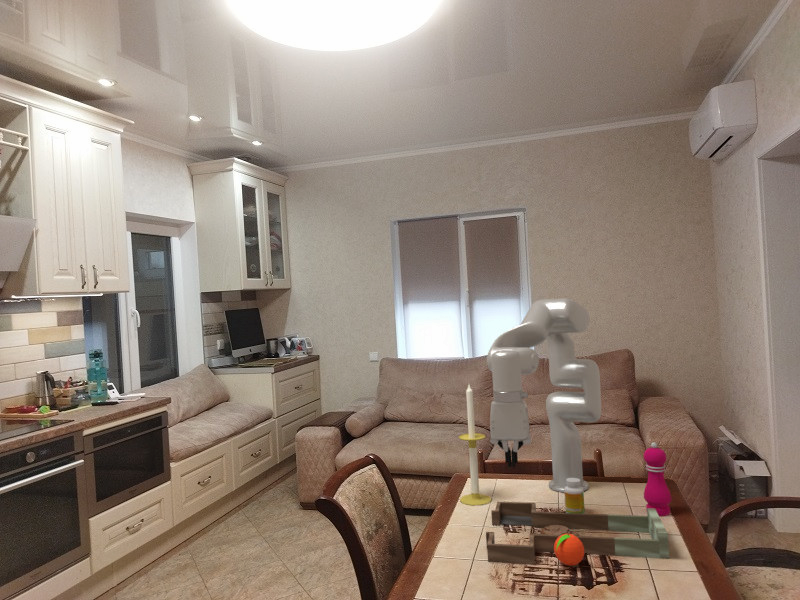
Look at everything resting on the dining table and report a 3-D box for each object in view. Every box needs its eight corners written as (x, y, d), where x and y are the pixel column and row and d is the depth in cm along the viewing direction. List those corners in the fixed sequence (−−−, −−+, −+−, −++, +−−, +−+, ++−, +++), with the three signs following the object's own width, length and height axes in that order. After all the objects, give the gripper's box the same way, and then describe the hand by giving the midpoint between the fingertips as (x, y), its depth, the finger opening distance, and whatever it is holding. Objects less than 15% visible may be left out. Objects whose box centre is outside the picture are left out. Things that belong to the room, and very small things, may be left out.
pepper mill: (638, 510, 163) (634, 441, 163) (657, 505, 166) (653, 438, 166) (659, 518, 156) (654, 446, 157) (678, 513, 159) (673, 443, 159)
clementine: (570, 575, 127) (568, 544, 128) (545, 565, 133) (543, 535, 133) (591, 564, 132) (589, 534, 132) (567, 554, 138) (565, 525, 138)
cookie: (555, 529, 154) (554, 518, 154) (588, 540, 145) (587, 529, 146) (530, 540, 148) (529, 528, 148) (563, 552, 140) (562, 540, 140)
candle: (470, 508, 173) (463, 386, 173) (454, 498, 182) (447, 383, 182) (497, 501, 177) (490, 382, 177) (480, 492, 186) (473, 379, 186)
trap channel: (494, 515, 166) (493, 494, 166) (651, 521, 155) (650, 499, 155) (483, 561, 137) (482, 536, 137) (675, 572, 126) (674, 545, 126)
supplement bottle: (585, 516, 161) (583, 482, 161) (566, 516, 162) (564, 482, 162) (583, 509, 166) (581, 476, 166) (564, 509, 167) (562, 476, 167)
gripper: (536, 394, 152) (541, 462, 152) (481, 395, 156) (485, 461, 155) (536, 399, 144) (540, 470, 144) (478, 399, 148) (482, 469, 148)
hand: (511, 465), depth 150 cm, fingers closed
